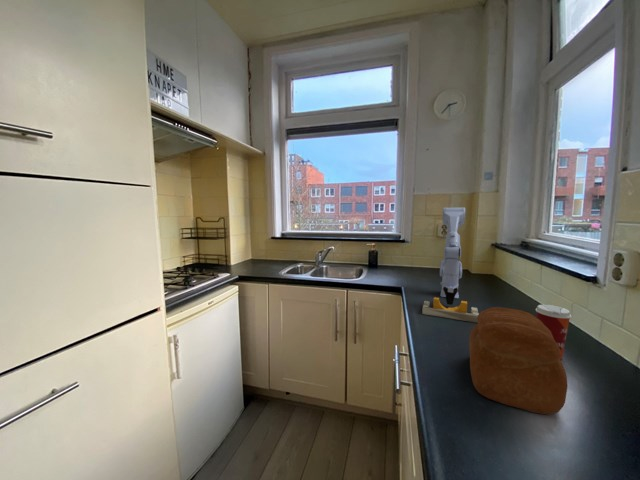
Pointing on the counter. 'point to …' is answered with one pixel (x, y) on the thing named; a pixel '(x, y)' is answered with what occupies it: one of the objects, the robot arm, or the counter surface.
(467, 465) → the counter surface
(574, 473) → the counter surface
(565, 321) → the paper cup
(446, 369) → the counter surface
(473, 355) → the bread
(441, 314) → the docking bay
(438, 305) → the pipe clamp
